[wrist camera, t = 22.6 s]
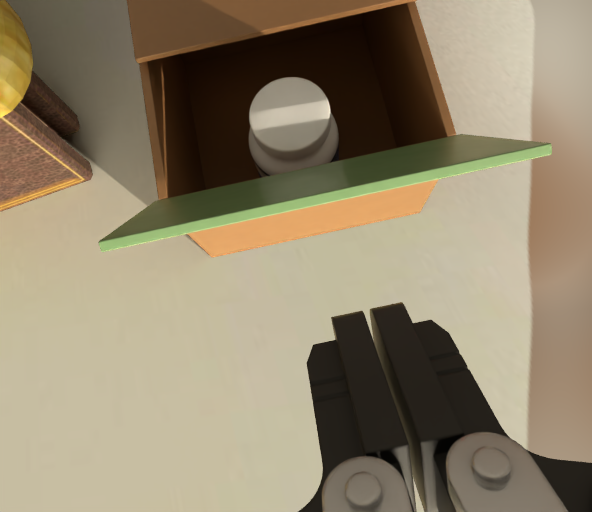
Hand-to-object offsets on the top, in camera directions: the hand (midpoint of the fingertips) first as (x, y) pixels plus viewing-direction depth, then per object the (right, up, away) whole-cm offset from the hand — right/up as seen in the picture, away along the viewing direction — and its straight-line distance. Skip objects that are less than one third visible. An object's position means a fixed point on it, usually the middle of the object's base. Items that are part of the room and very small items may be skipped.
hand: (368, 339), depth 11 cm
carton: (-2, +12, +27) cm, 30 cm away
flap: (-1, +5, +10) cm, 11 cm away
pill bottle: (-1, +8, +26) cm, 27 cm away
